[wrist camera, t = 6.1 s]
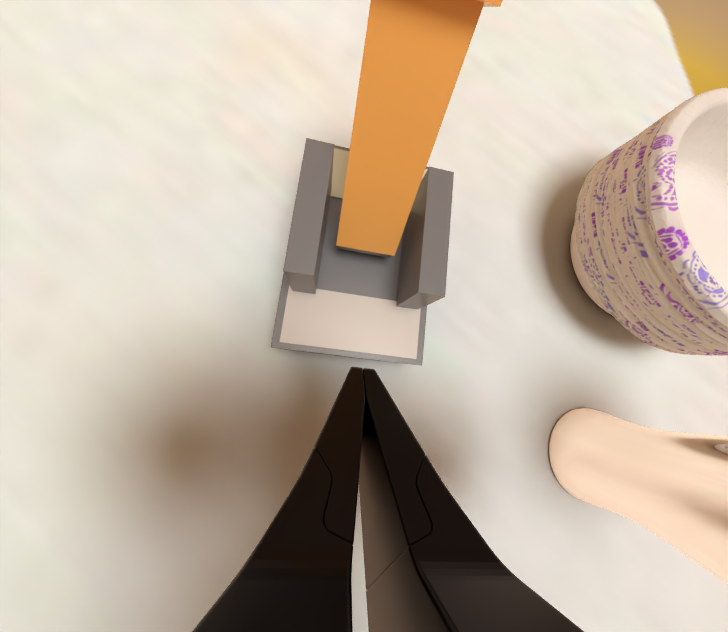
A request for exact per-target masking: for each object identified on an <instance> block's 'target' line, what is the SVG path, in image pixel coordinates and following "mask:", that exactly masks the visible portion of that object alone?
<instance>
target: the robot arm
mask: <svg viewBox="0 0 728 632" xmlns="http://www.w3.org/2000/svg"><path fill="white" fill-rule="evenodd" d="M358 483H359V490H360V505H361V520H362V535H363V550H364V565H365V580H366V589H367V591H366V597H367V612H368V627H369V632H584V631H583V630H581V629H580V628H579V627H578V626H576V625H575V624H574V623H573V622H571V621H570V620H569V619H568V618H566V617H565V616H564V615H563V614H562V613H560V612H559V611H558V610H557V609H555V608H554V607H553V606H552V605H550V604H549V603H548V602H547V601H545V600H544V599H543V598H542V597H540V596H539V595H538V594H537V593H536V592H534V591H533V590H532V589H531V588H529V587H528V586H527V585H526V584H524V583H523V582H522V581H521V580H519V579H518V578H517V577H516V576H515V575H514V574H513V573H512V572H511V571H510V570H509V569H508V568H507V567H506V566H505V565H504V564H503V563H502V562H501V561H500V560H499V559H498V557H497V556H496V555H495V554H494V552H493V551H492V550H491V549H490V547H489V546H488V545H487V543H486V542H485V540H484V539H483V538H482V536H481V535H480V534H479V532H478V531H477V529H476V528H475V527H474V525H473V524H472V523H471V521H470V520H469V519H468V517H467V516H466V514H465V513H464V512H463V510H462V509H461V508H460V506H459V505H458V503H457V502H456V501H455V499H454V498H453V496H452V495H451V494H450V492H449V491H448V489H447V488H446V486H445V485H444V483H443V482H442V480H441V479H440V477H439V476H438V474H437V472H436V471H435V469H434V468H433V466H432V464H431V463H430V461H429V459H428V458H427V456H425V453H424V451H423V449H422V448H421V446H420V445H419V443H418V441H417V440H416V438H415V436H414V435H413V433H412V431H411V430H410V428H409V426H408V425H407V423H406V421H405V420H404V418H403V416H402V415H401V413H400V411H399V410H398V408H397V406H396V405H395V403H394V401H393V400H392V398H391V396H390V395H389V393H388V391H387V390H386V388H385V386H384V385H383V383H382V381H381V380H380V378H379V376H378V375H377V373H376V371H375V370H374V369H367V368H364V369H362V368H358V367H351V369H350V371H349V373H348V375H347V377H346V379H345V382H344V384H343V386H342V388H341V390H340V392H339V394H338V397H337V399H336V401H335V403H334V405H333V407H332V410H331V412H330V414H329V416H328V418H327V420H326V422H325V425H324V427H323V429H322V431H321V433H320V435H319V438H318V440H317V442H316V444H315V446H314V449H313V450H312V452H311V454H310V457H309V459H308V461H307V463H306V465H305V467H304V469H303V471H302V473H301V475H300V477H299V478H298V480H297V482H296V484H295V485H294V487H293V489H292V490H291V492H290V494H289V496H288V497H287V499H286V500H285V502H284V504H283V505H282V507H281V508H280V510H279V512H278V513H277V515H276V516H275V518H274V520H273V521H272V523H271V524H270V526H269V528H268V529H267V531H266V532H265V534H264V536H263V537H262V539H261V540H260V542H259V544H258V545H257V547H256V548H255V550H254V551H253V553H252V554H251V556H250V557H249V559H248V560H247V562H246V563H245V565H244V566H243V567H242V569H241V570H240V572H239V573H238V574H237V576H236V577H235V578H234V580H233V581H232V582H231V584H230V585H229V586H228V587H227V589H226V590H225V591H224V592H223V594H222V595H221V596H220V597H219V599H218V600H217V601H216V602H215V604H214V605H213V606H212V607H211V609H210V610H209V611H208V612H207V614H206V615H205V616H204V618H203V619H202V620H201V621H200V623H199V624H198V625H197V626H196V628H195V629H194V630H193V631H192V632H352V592H351V572H352V553H353V541H354V530H355V518H356V506H357V494H358Z"/></svg>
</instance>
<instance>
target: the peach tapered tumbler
mask: <svg viewBox="0 0 728 632" xmlns="http://www.w3.org/2000/svg"><path fill="white" fill-rule="evenodd" d="M549 457H550V463H551V467H552V470H553V472H554V475H555V477H556V479H557V480H558V482H559V483H560V485H561V486H562V487H563V488H564V489H565V490H566V491H567V492H568V493H570V494H571V495H572V496H574V497H576V498H577V499H579V500H582V501H584V502H586V503H589V504H592V505H595V506H598V507H600V508H603V509H606V510H609V511H612V512H614V513H617V514H619V515H621V516H624V517H626V518H628V519H630V520H632V521H634V522H636V523H637V524H639V525H641V526H642V527H644V528H646V529H647V530H649V531H651V532H653V533H654V534H656V535H657V536H659V537H660V538H662V539H663V540H665V541H666V542H667V543H669V544H670V545H672V546H673V547H675V548H676V549H678V550H679V551H681V552H682V553H684V554H685V555H686V556H688V557H689V558H691V559H692V560H693V561H695V562H696V563H698V564H699V565H701V566H702V567H703V568H705V569H706V570H708V571H709V572H710V573H712V574H713V575H715V576H716V577H717V578H719V579H720V580H722V581H723V582H725V583H726V584H728V436H722V435H709V434H696V433H686V432H676V431H666V430H661V429H655V428H649V427H645V426H641V425H637V424H634V423H631V422H628V421H625V420H622V419H620V418H617V417H614V416H612V415H609V414H607V413H604V412H601V411H598V410H595V409H591V408H578V409H574V410H571V411H569V412H568V413H566V414H565V415H563V416H562V417H561V418H560V419H559V421H558V422H557V423H556V425H555V427H554V429H553V431H552V434H551V437H550V442H549Z"/></svg>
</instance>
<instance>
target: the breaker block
mask: <svg viewBox="0 0 728 632" xmlns="http://www.w3.org/2000/svg"><path fill="white" fill-rule="evenodd" d="M349 152H350V149H348V148H344V147H340V146H335V145H334V144H330V143H325V142H321V141H317V140H312V139H308V138H306V144H305V150H304V155H303V161H302V167H301V172H300V178H299V184H298V190H297V195H296V201H295V207H294V212H293V218H292V224H291V229H290V235H289V241H288V246H287V252H286V258H285V264H284V269H283V271H284V274H283V280H282V286H281V292H280V297H279V303H278V309H277V314H276V320H275V326H274V332H273V337H272V343H271V347H273V348H280V349H288V350H297V351H305V352H313V353H321V354H330V355H338V356H346V357H355V358H363V359H371V360H379V361H388V362H396V363H404V364H413V365H422V360H423V347H424V335H425V323H426V310H427V305H428V304H430V303H433V302H435V301H437V300H439V299H441V298H443V297H445V289H446V275H447V261H448V247H449V232H450V218H451V204H452V190H453V175H454V172H450V171H446V170H442V169H437V168H433V167H426V169H425V171H424V174H423V177H422V180H421V183H420V185H419V188H418V191H417V194H416V197H415V200H414V202H413V205H412V208H411V211H410V214H409V216H408V219H407V222H406V225H405V228H404V231H403V233H402V236H401V239H400V242H399V245H398V248H397V250H396V253H395V256H391V257H390V258H388V257H383V256H377V255H371V254H366V253H360V252H354V251H349V250H343V249H338V246H336V243H337V236H338V229H339V222H340V215H341V208H342V201H343V194H344V187H345V180H346V173H347V166H348V159H349Z"/></svg>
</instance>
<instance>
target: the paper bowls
mask: <svg viewBox="0 0 728 632" xmlns="http://www.w3.org/2000/svg"><path fill="white" fill-rule="evenodd" d="M576 208H577V211H576V212H575V224H574V227H573V230H572V235H571V244H570V250H571V259H572V264H573V267H574V270H575V273H576V276H577V278H578V280H579V282H580V284H581V286H582V287H583V289H584V290H585V292H586V293H587V294H588V295H589V297H590V298H591V299H592V300H593V301H594V302H595V303H596V304H597V305H598V306H599V307H601V308H602V309H603V310H605V311H606V312H607V313H609V314H611V315H612V316H614V318H615V319H616V320H617V321H619V322H620V323H621V324H622V326H623V327H624V328H626V329H627V330H629V331H630V333H631V334H633V335H635V336H637V337H638V338H639V339H641V340H642V341H644V342H645V343H648V344H649V345H651V346H655V347H657V348H660V349H663V350H665V351H669V352H674V353H680V354H689V355H728V88H720V89H715V90H711V91H707V92H704V93H701V94H699V95H696V96H694V97H692V98H690V99H688V100H686V101H684V102H683V103H681V104H680V105H679V106H677V107H676V108H675V109H674V110H672V111H671V112H669V113H668V114H666V115H665V116H663V117H662V118H661V119H659V120H658V121H657V122H655V123H654V124H652V125H651V126H649V127H648V128H647V129H645V130H644V131H643V132H641V133H640V134H639V135H637V136H636V137H634V138H633V139H631V140H629V141H628V142H626V143H625V144H623V145H622V146H620V147H619V148H617V149H616V150H615V151H613V152H612V153H611V154H609V155H608V156H606V157H605V158H604V159H602V160H600V161H599V162H598V163H597V164H596V165H595V166H594V167H593V168H592V169H591V170H590V172H589V173H588V175H587V177H586V178H585V181H584V183H583V186H582V188H581V190H580V192H579V195H578V198H577V204H576Z"/></svg>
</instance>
